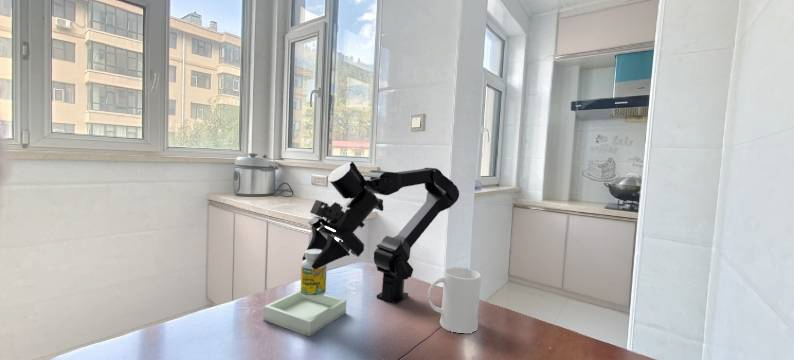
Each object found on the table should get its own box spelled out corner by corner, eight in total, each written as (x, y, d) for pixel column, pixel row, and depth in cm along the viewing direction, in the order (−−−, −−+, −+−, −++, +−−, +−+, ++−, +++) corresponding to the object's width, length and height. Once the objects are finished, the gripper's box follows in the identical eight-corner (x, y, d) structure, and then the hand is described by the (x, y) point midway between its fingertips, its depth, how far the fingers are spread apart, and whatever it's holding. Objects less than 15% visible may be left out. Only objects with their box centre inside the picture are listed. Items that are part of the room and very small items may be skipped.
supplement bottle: (327, 289, 77) (329, 248, 77) (322, 299, 72) (324, 255, 72) (303, 288, 77) (305, 247, 77) (297, 298, 72) (299, 254, 71)
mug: (427, 332, 72) (431, 277, 71) (423, 314, 80) (427, 264, 80) (482, 335, 72) (486, 280, 71) (472, 317, 81) (476, 267, 80)
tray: (303, 300, 84) (304, 288, 84) (345, 313, 78) (346, 300, 78) (263, 319, 72) (264, 306, 72) (309, 336, 67) (309, 321, 67)
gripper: (317, 183, 83) (270, 231, 77) (353, 192, 68) (297, 252, 62) (345, 213, 88) (302, 260, 83) (384, 228, 73) (335, 286, 67)
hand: (308, 264), depth 74 cm, fingers closed on supplement bottle, 5 cm apart
